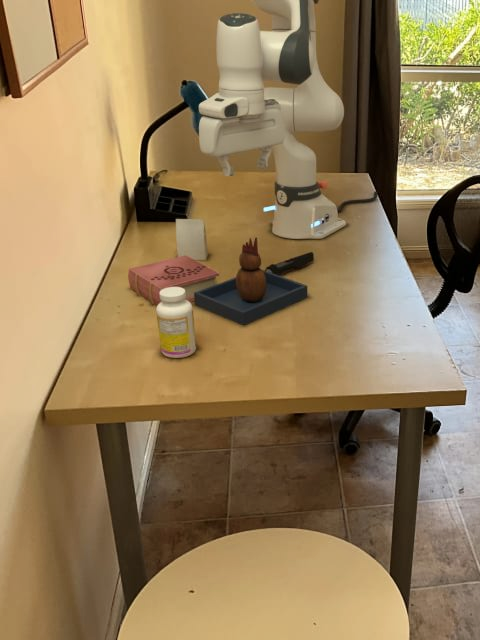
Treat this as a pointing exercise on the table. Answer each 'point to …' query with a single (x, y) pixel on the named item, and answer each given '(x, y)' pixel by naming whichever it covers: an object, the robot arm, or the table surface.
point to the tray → (235, 308)
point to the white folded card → (191, 238)
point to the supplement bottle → (175, 323)
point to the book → (171, 277)
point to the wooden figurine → (250, 274)
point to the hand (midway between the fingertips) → (245, 171)
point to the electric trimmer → (291, 264)
